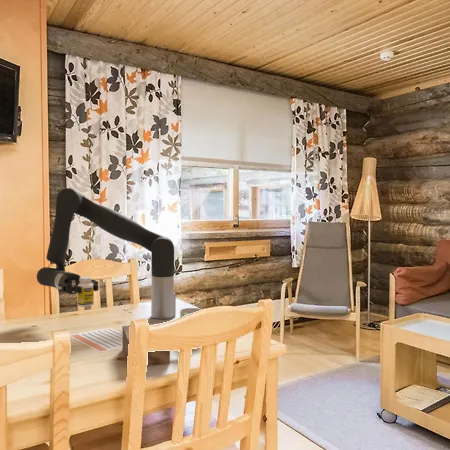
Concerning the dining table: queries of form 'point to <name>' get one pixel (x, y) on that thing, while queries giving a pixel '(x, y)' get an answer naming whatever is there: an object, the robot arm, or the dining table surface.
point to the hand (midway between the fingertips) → (88, 289)
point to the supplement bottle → (85, 292)
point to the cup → (188, 311)
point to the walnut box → (153, 357)
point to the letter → (101, 339)
